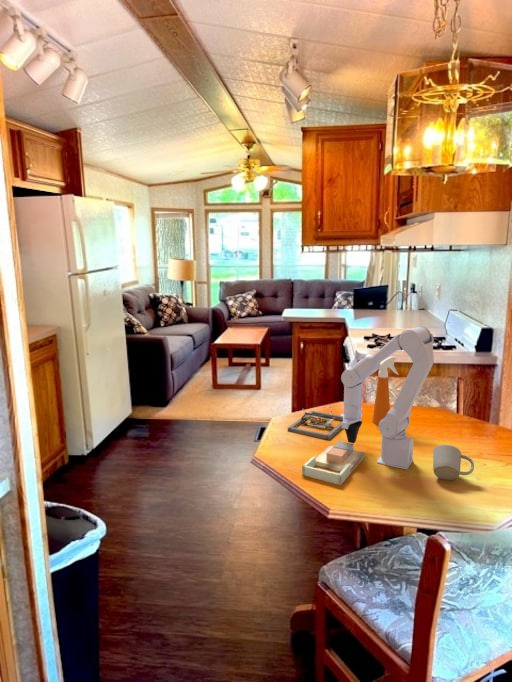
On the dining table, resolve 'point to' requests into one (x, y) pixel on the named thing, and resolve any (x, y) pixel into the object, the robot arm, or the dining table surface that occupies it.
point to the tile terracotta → (336, 455)
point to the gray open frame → (317, 434)
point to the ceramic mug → (449, 462)
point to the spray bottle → (383, 390)
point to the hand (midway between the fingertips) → (351, 442)
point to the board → (352, 460)
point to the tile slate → (345, 447)
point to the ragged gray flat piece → (323, 422)
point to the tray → (324, 472)
